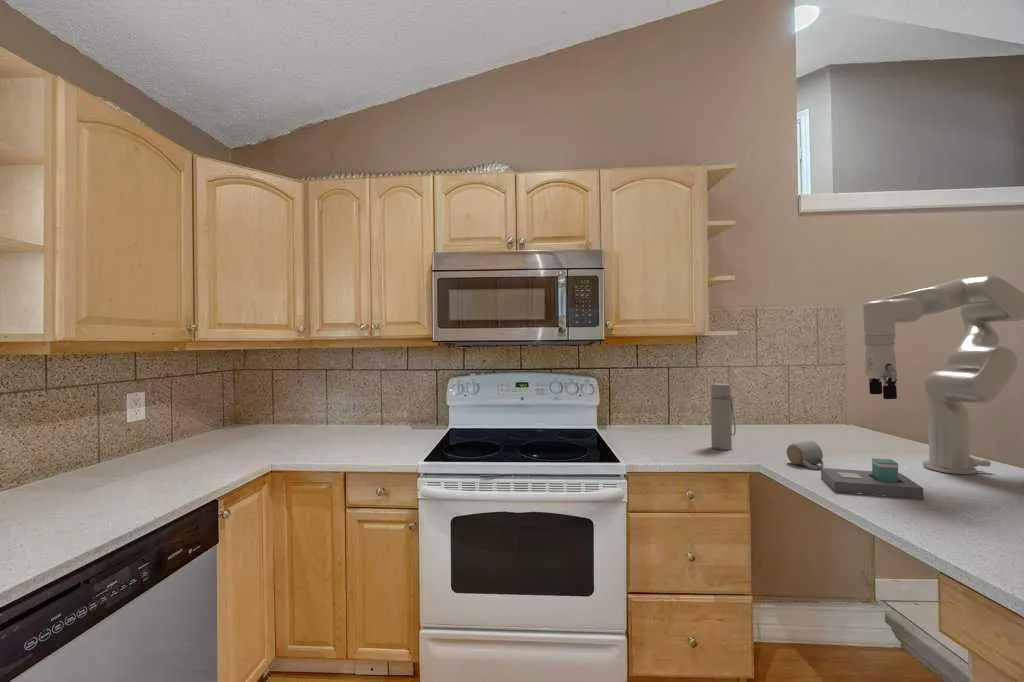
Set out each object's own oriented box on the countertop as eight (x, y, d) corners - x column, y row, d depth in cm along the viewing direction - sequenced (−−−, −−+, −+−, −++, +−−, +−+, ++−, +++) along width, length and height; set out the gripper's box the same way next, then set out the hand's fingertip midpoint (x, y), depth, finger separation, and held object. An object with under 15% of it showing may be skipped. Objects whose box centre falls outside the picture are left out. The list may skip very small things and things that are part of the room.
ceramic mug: (784, 462, 162) (784, 440, 162) (805, 460, 163) (805, 438, 163) (808, 471, 151) (808, 447, 151) (831, 469, 153) (831, 446, 153)
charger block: (891, 487, 134) (891, 459, 134) (898, 492, 130) (898, 463, 130) (872, 485, 136) (871, 458, 136) (878, 490, 131) (878, 462, 131)
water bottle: (717, 451, 179) (716, 385, 179) (707, 446, 187) (706, 383, 186) (740, 450, 179) (739, 384, 179) (730, 445, 187) (729, 382, 187)
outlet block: (900, 483, 137) (900, 472, 137) (923, 499, 124) (923, 487, 124) (821, 477, 144) (820, 467, 144) (834, 492, 131) (834, 480, 131)
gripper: (854, 340, 154) (857, 392, 154) (877, 342, 137) (880, 401, 137) (882, 339, 151) (884, 392, 152) (908, 341, 135) (911, 400, 135)
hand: (882, 396), depth 145 cm, fingers open, 9 cm apart
